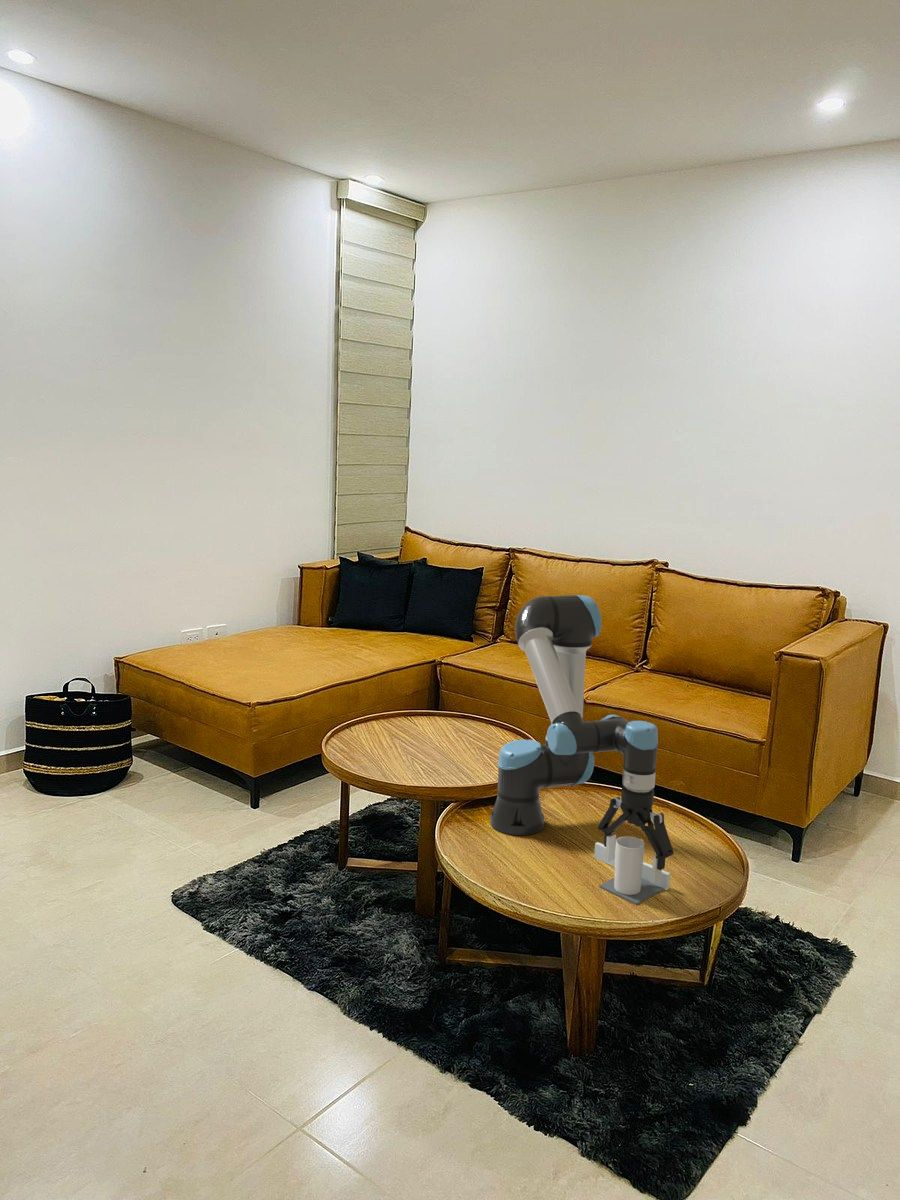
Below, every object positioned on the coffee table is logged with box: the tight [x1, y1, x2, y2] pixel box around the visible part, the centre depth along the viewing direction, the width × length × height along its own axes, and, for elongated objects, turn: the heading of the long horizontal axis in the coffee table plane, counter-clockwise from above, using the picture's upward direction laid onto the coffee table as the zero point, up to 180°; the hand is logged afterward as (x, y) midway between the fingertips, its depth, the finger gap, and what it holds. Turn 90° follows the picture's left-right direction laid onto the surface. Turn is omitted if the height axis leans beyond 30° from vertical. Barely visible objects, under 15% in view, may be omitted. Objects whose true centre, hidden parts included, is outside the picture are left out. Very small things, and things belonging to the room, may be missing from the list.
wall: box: [593, 841, 671, 891], centre depth 224 cm, size 22×1×4 cm, turn 43°
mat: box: [598, 877, 665, 906], centre depth 216 cm, size 11×11×1 cm
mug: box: [614, 835, 645, 895], centre depth 215 cm, size 10×7×12 cm, turn 137°
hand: (632, 870), depth 215 cm, fingers open, 13 cm apart
